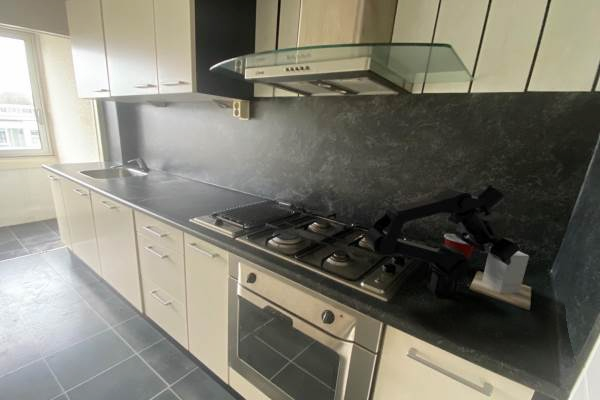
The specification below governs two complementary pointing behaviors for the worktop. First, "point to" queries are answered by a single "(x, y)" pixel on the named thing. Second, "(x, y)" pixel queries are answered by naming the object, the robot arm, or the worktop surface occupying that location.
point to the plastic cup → (458, 244)
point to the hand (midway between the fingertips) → (495, 256)
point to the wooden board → (516, 299)
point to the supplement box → (505, 273)
